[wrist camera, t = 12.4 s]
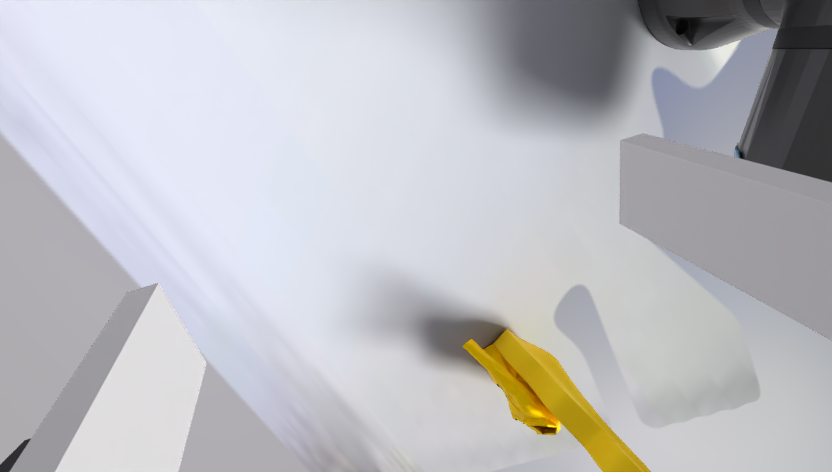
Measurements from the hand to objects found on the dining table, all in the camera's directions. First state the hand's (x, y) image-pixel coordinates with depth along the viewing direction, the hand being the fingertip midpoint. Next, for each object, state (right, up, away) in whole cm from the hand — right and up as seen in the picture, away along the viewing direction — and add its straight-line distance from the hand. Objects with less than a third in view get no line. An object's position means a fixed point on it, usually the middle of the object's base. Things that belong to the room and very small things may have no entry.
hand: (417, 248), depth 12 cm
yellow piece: (+12, -14, +42) cm, 46 cm away
